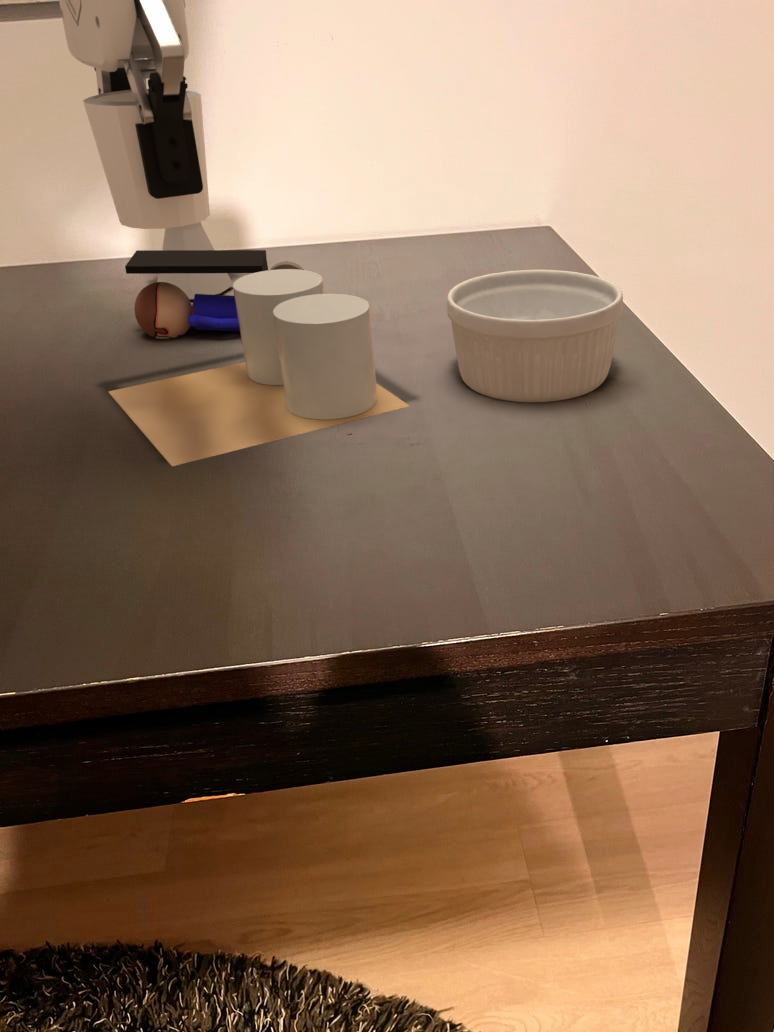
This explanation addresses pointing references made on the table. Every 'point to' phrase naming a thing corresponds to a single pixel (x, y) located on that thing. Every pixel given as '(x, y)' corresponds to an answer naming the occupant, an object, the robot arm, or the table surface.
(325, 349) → the white front cylinder
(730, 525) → the table surface
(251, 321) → the white tall rear cylinder
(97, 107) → the white tapered cup
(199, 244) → the flask
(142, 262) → the figurine character
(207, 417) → the board
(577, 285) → the ramekin
